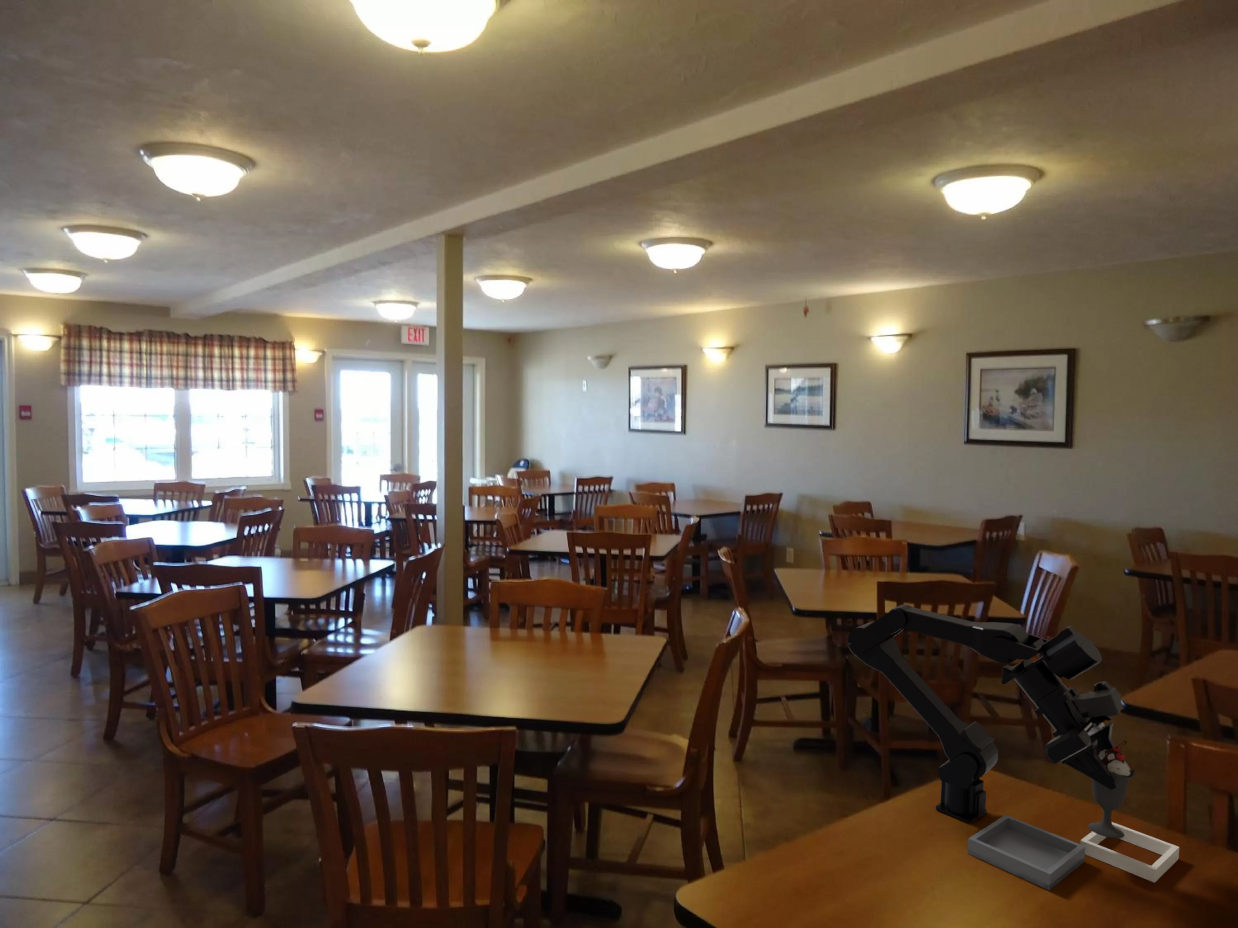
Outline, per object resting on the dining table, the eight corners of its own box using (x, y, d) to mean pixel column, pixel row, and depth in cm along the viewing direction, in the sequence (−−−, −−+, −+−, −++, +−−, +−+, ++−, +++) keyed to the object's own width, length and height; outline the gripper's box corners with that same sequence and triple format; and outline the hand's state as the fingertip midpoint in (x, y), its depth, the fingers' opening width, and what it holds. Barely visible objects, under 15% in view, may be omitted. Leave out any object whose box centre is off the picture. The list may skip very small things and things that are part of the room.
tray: (967, 853, 130) (968, 838, 130) (1005, 828, 138) (1005, 814, 138) (1049, 890, 120) (1050, 874, 120) (1084, 861, 128) (1085, 846, 128)
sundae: (1135, 844, 123) (1142, 747, 123) (1085, 834, 126) (1092, 739, 126) (1126, 827, 129) (1133, 734, 129) (1079, 817, 132) (1085, 726, 132)
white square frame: (1079, 851, 131) (1080, 840, 131) (1105, 831, 138) (1106, 819, 138) (1154, 882, 123) (1155, 869, 123) (1178, 858, 130) (1179, 846, 129)
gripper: (1073, 682, 122) (1153, 777, 115) (1104, 655, 136) (1177, 740, 129) (1014, 717, 128) (1087, 810, 122) (1050, 688, 142) (1117, 771, 135)
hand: (1119, 781), depth 127 cm, fingers closed on sundae, 6 cm apart
